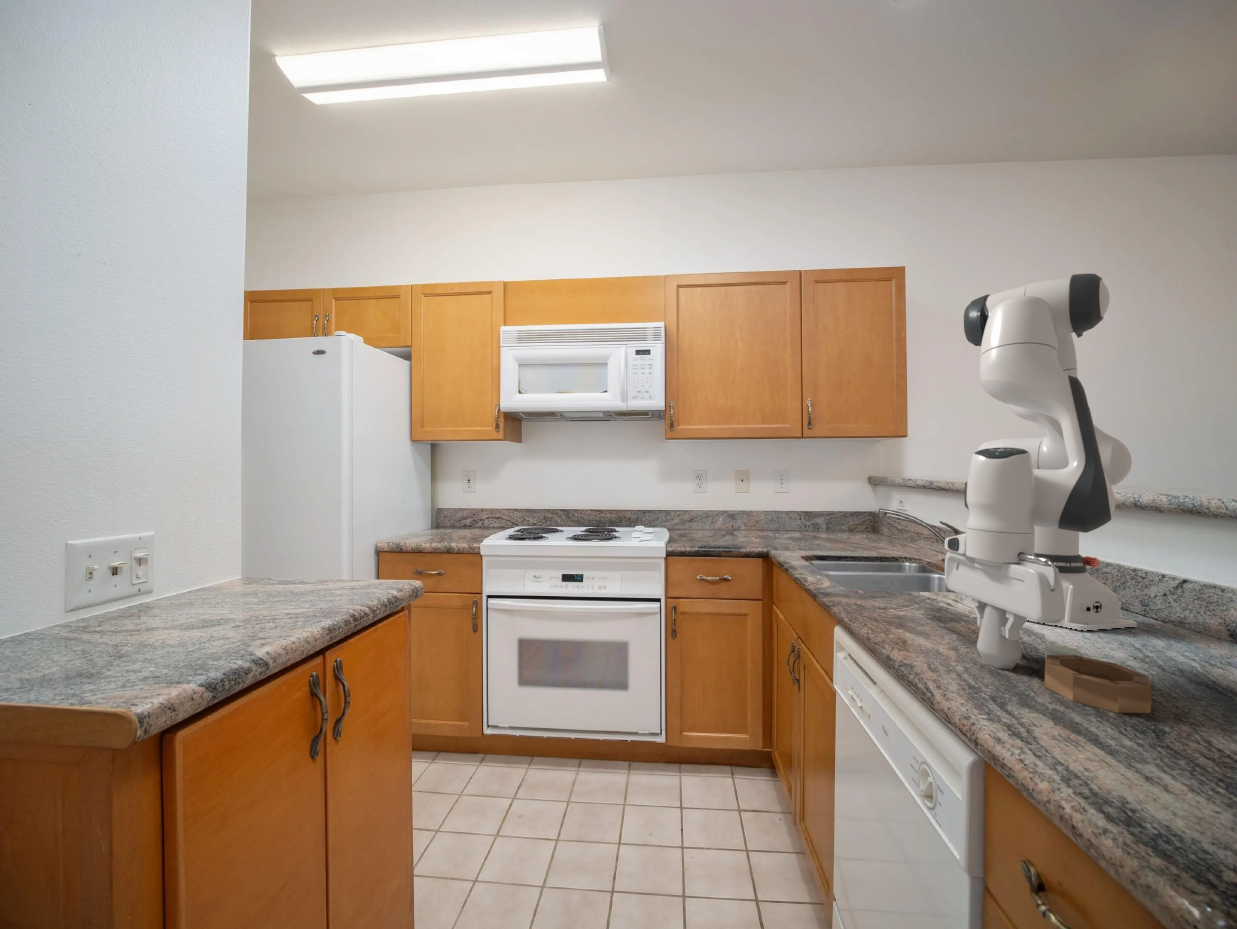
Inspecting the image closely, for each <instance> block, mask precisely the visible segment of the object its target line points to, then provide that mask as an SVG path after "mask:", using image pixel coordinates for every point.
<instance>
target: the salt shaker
mask: <svg viewBox="0 0 1237 929" xmlns="http://www.w3.org/2000/svg"><path fill="white" fill-rule="evenodd" d="M1008 620H1009V618H1007V617H1006V610H1003V609H1001V608H998V607H995V606H992V605H990V604H987V603H986V608H985V612H984V616H983V621H982V625H981V627H980V630H979V633H978V639H977V643H976V648H977V651H978V653H979V655H980V658H981V659H982V661H983V662H984V664H985V665H986V666H990V667H994V668H996V669H1000V670H1001V669H1003V670H1010V671H1011V670H1013V668H1015V666H1016V665H1017V664H1018V662H1019V661H1020V660H1021V659H1022V655H1023V654H1022V653H1023V652H1022V648H1021V643H1020V638H1019V639H1018V640H1009V639H1006V638H1004V637H1002V636H1001V632H1002V631H1001V626H1006V624H1007V622H1008Z"/></svg>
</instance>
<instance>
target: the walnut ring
mask: <svg viewBox="0 0 1237 929" xmlns="http://www.w3.org/2000/svg"><path fill="white" fill-rule="evenodd" d="M1044 661H1045V660H1044ZM1044 688H1047V689H1048V690H1050V691H1051V692H1055V693H1056V694H1058V695H1060V696H1062V697H1064V698H1066V699H1068V700H1069V701H1072V702H1074V703H1079V704H1083V705H1087V706H1091V707H1095V708H1099V709H1102V710H1106V711H1109V712H1114V713H1117V714H1118V713H1121V714H1128V713H1129V714H1151V713H1152V685H1151V682H1150V678H1149V676H1148V675H1146V674H1143V673H1141V672H1139V671H1135V670H1133V669H1131V668H1128V667H1125V666H1123V665H1120V664H1118V663H1114V662H1112V661H1111V662H1109V661H1105V660H1101V659H1095V658H1090V657H1085V656H1083V657H1081V656H1077V655H1047V657H1046V661H1045V662H1044Z"/></svg>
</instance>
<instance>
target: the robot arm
mask: <svg viewBox="0 0 1237 929" xmlns="http://www.w3.org/2000/svg"><path fill="white" fill-rule="evenodd" d="M1107 286H1108V285H1106V284H1105V282H1104V281H1103V278H1102V277H1100V276H1099V275H1098V274H1096V273H1075V274H1072V275H1071V276H1066V277H1057V278H1051V279H1050V278H1049V279H1044V280H1039V281H1034V282H1033V281H1032V282H1029V283H1027V284H1025V285H1020V286H1016V287H1013V288H1008V289H1005V290H1002V291H999V292H996V293H994V294H989V293H988V294H984V295H983V296H980V297H977V298H975V299H973V300H971V301H970V303H969V304H968V305H967V306H966V307H965V309H964V313H963V316H962V324H961V325H962V331H963V333H964V335H965V338H966V340H967V341H968V343H970V344H971V345H974V347H980V352H979V365H978V368H979V369H978V370H979V381H980V385H981V387H982V388H983V390H984V391H985V392H986V393H987V394H988V395H989V396H990V397H992V398H993V399H995V400H997V401H998V402H999V401H1000V402H1001V403H1004V404H1006V405H1009V408H1010V410H1011V411H1012V413H1013V414H1014V415H1015V416H1017V417H1019V418H1021V419H1024V420H1026V421H1029V422H1033V423H1035V424H1037V425H1038V426H1040V427H1041V428H1042V429H1043V430H1044V431H1045V435H1044V436H1017V437H1013V436H1012V437H1004V438H999V439H993V440H988V441H985V442H982V444H981V445H980V446H978V448H977V449H976V451H975V452H973V454H971V455H972V456H971V460H970V463H969V468H968V474H967V475H968V476H967V481H966V482H965V483H964V506H965V508H966V509H967V510H968V518H967V521H966V523H965V533H961V534H958V535H954V536H949V537H946V538H945V539H944V549H945V550H946V551H948V552H947V553H946V555H945V557H944V582H945V585H946V587H947V589H948V590H950V591H952V592H955V593H957V594H961V595H963V596H966V597H968V598H970V599H971V605H972V608H973V610H974V613H975V615H976V616H977V618H976V620H977V626H978V627H979V628H981V625H982V621H983V616H984V612H985V608H986V603H987V604H990V605H992V606H995V607H998V608H1001V609H1003V610H1006V617H1007V618H1009V620H1008V622H1007V624H1006V626H1001V631H1002V632H1001V636H1002V637H1004V638H1006V639H1009V640H1018V639H1019V640H1020V632H1021V631H1020V630H1021V629H1022V627H1023V626H1024V625H1025V623H1026V622H1027V621H1028V620H1029V622H1034V623H1038V622H1039V623H1038V624H1043V623H1045V624H1044V625H1050V626H1055V625H1057V626H1056V627H1061V626H1062V628H1066V627H1067V628H1066V629H1070V628H1072V629H1071V630H1075V629H1077V630H1076V631H1081V630H1083V631H1082V632H1088V631H1087V630H1093V631H1098V630H1097V629H1107V630H1112V629H1111V628H1121V629H1125V628H1124V627H1132V626H1137V627H1138V623H1137V622H1136V621H1135V620H1134V619H1131V618H1128V617H1126V616H1123V615H1122V614H1121V604H1120V600H1119V597H1118V596H1117V594H1116V593H1115V592H1114V591H1113V590H1111V589H1110V588H1108V587H1107V586H1105V585H1104V584H1103V583H1101V582H1100V581H1098V580H1097V579H1096V578H1095V577H1093V576H1092V575H1091V574H1089V573H1088V569H1087V567H1088V566H1089V567H1092V568H1098V567H1099V566H1100V563H1101V562H1100V561H1101V560H1100V559H1099V558H1098V557H1091V556H1088V555H1086V556H1084V557H1083V556H1082V555H1081V554H1080V533H1085V534H1086V533H1090V532H1093V531H1094V530H1096V529H1099V528H1101V527H1104V525H1106V524H1107V523H1109V522H1110V521H1112V517H1113V516H1114V512H1115V510H1116V498H1115V493H1114V490H1113V488H1112V486H1117V485H1119V484H1120V483H1121V482H1122V481H1124V479H1125V478H1126V477H1127V476H1128V474H1129V472H1130V471H1131V467H1132V462H1133V460H1132V454H1131V452H1130V450H1129V449H1128V447H1127V446H1126V445H1125V443H1123V442H1122V441H1120V439H1118V438H1116V437H1114V436H1111V435H1110V434H1108V433H1107V432H1104V431H1103V430H1102V429H1100V428H1099V427H1097V425H1096V424H1094V420H1093V416H1092V412H1091V409H1090V406H1089V402H1088V399H1087V394H1086V391H1085V389H1084V386H1083V384H1082V382H1081V381H1080V378H1078V364H1077V363H1078V362H1077V354H1076V353H1077V352H1076V347H1075V342H1074V337H1073V335H1072V333H1074V334H1075V336H1076V337H1077V339H1079V338H1081V337H1083V336H1084V335H1083V334H1084V333H1085V332H1087V331H1089V330H1091V329H1093V328H1095V327H1096V326H1097V325H1099V323H1101V322H1102V321H1103V320H1104V317H1105V314H1106V312H1107V311H1108V308H1109V306H1110V300H1111V299H1110V298H1111V297H1110V296H1111V295H1110V292H1109V288H1108V287H1107Z"/></svg>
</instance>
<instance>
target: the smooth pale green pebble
mask: <svg viewBox="0 0 1237 929" xmlns="http://www.w3.org/2000/svg"><path fill="white" fill-rule="evenodd" d="M1047 655H1077V656H1081V657H1084V656H1083V655H1084V654H1083V652H1081V651H1080V650H1079V649H1075V648H1071V647H1069V646H1068V647H1067V646H1065V645H1064V646H1063V645H1056V644H1055V645H1054V644H1048V645H1047V644H1046V645H1045V658H1044V659H1045V660H1044V661H1046V657H1047Z"/></svg>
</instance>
